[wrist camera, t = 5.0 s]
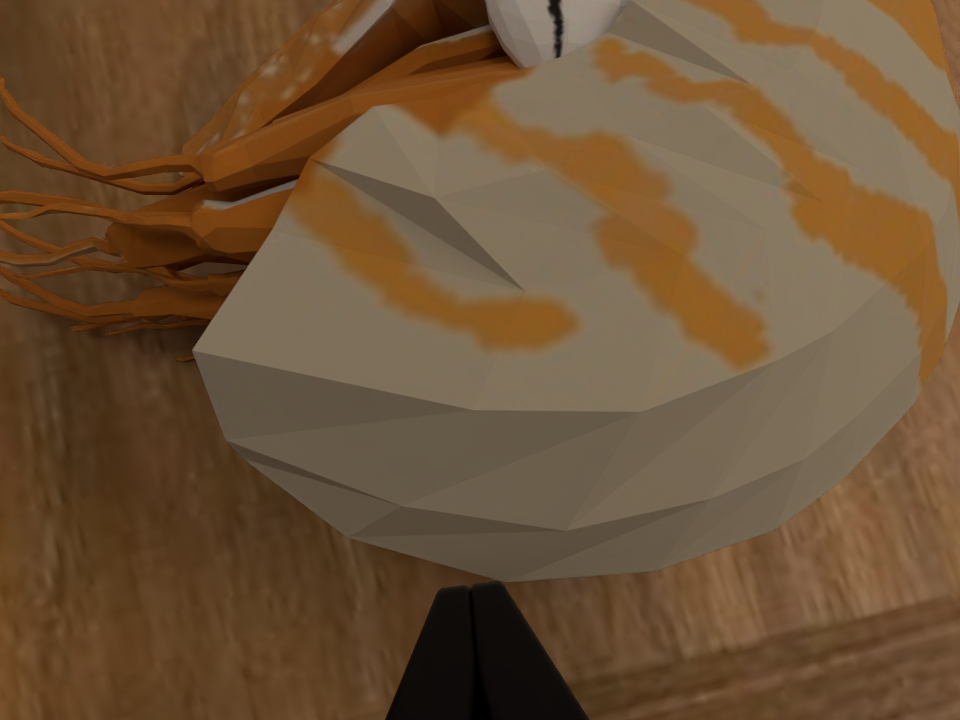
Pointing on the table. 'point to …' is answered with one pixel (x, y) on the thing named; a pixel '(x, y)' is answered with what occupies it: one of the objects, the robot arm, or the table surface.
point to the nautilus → (553, 266)
